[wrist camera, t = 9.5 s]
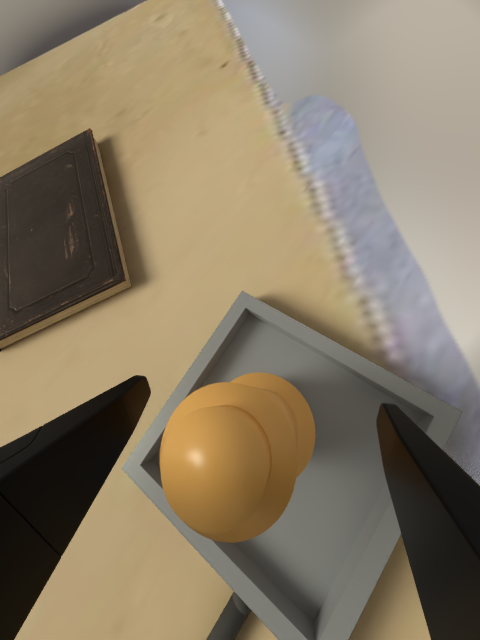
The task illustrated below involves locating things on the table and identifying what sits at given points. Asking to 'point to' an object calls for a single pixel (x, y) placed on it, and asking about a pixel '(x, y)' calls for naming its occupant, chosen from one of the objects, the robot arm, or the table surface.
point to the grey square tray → (304, 474)
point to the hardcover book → (57, 239)
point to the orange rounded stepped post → (236, 455)
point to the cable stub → (230, 620)
